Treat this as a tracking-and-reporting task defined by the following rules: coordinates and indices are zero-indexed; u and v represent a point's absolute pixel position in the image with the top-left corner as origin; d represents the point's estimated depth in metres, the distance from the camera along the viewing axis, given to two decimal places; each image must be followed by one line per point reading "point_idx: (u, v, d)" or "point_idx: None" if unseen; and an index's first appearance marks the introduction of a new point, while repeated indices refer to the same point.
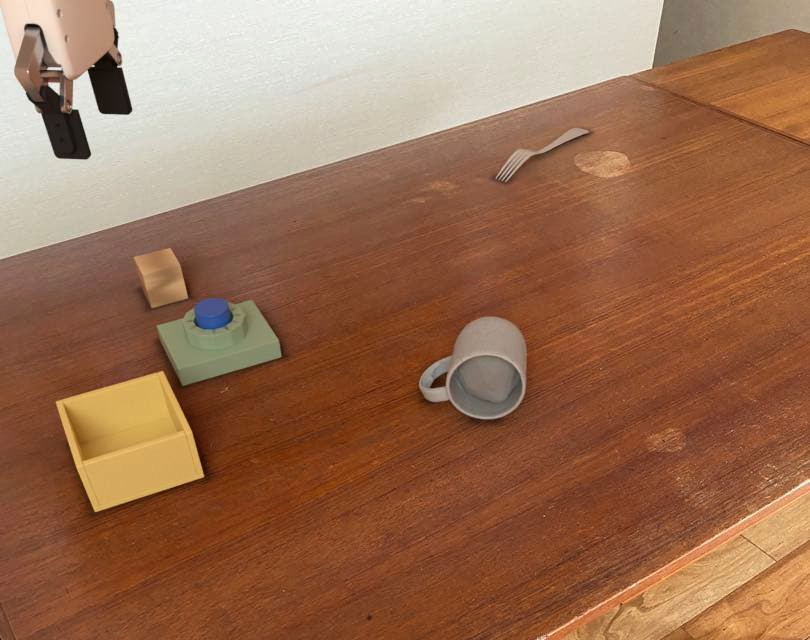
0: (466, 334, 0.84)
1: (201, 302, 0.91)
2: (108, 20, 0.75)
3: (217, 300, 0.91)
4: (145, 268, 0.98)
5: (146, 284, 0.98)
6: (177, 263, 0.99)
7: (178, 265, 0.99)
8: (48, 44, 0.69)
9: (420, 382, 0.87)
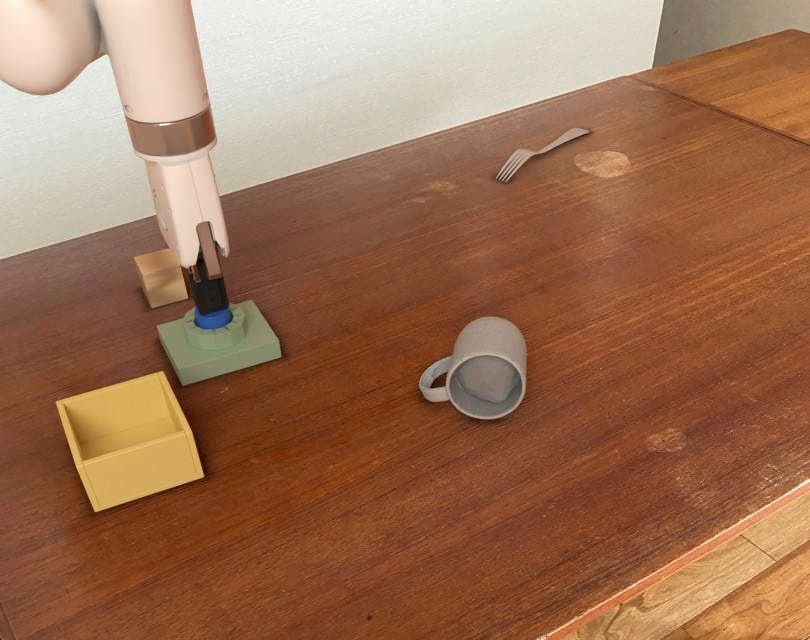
0: (466, 334, 0.84)
1: None
2: None
3: None
4: (145, 268, 0.98)
5: (146, 284, 0.98)
6: (177, 263, 0.99)
7: (178, 265, 0.99)
8: (214, 234, 0.80)
9: (420, 382, 0.87)
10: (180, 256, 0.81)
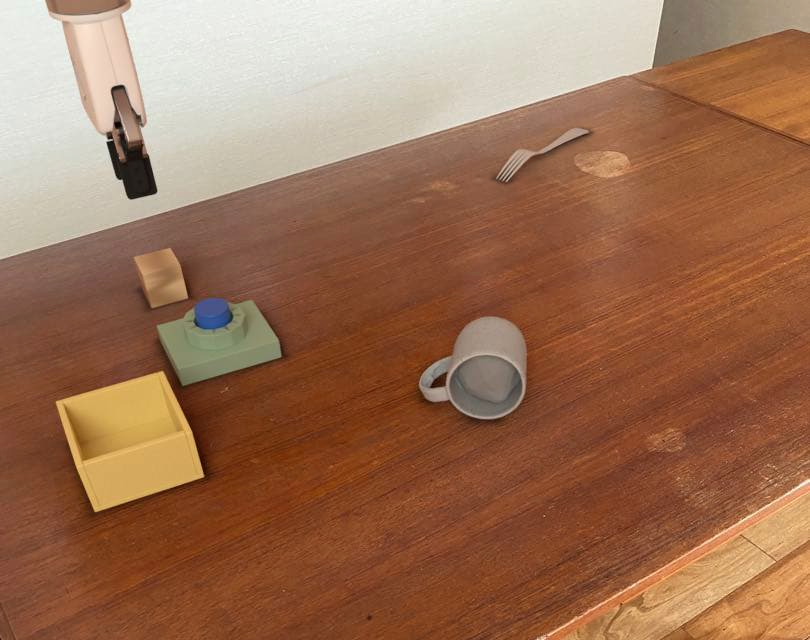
0: (466, 334, 0.84)
1: (201, 302, 0.91)
2: None
3: (217, 300, 0.91)
4: (145, 268, 0.98)
5: (146, 284, 0.98)
6: (177, 263, 0.99)
7: (178, 265, 0.99)
8: (130, 100, 0.83)
9: (420, 382, 0.87)
10: (97, 121, 0.83)
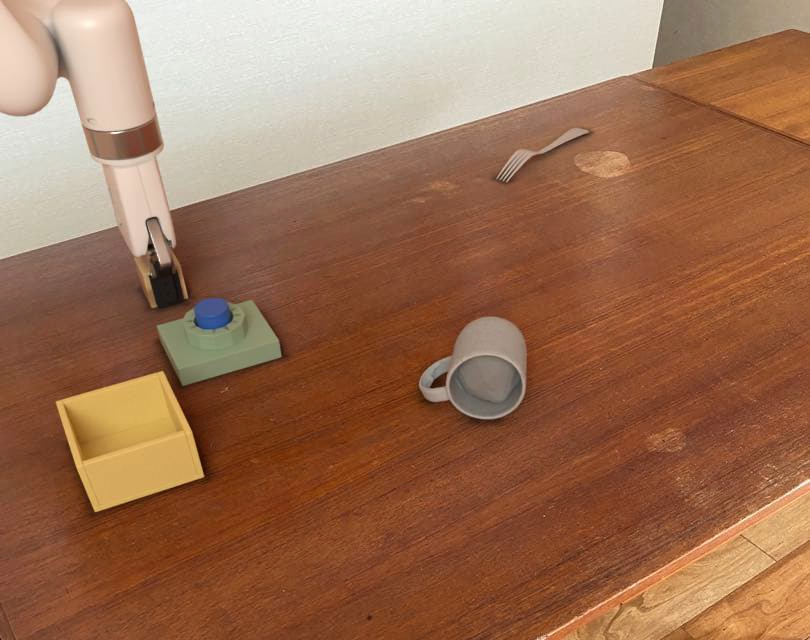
0: (466, 334, 0.84)
1: (201, 302, 0.91)
2: None
3: (217, 300, 0.91)
4: (145, 268, 0.98)
5: (146, 284, 0.98)
6: (177, 263, 0.99)
7: (178, 265, 0.99)
8: (162, 228, 0.92)
9: (420, 382, 0.87)
10: (132, 247, 0.93)
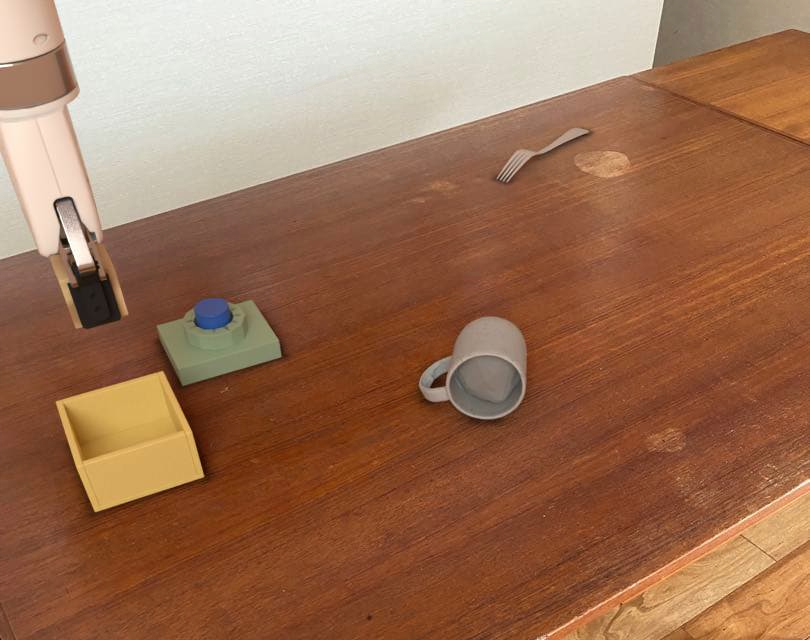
0: (466, 334, 0.84)
1: (201, 302, 0.91)
2: None
3: (217, 300, 0.91)
4: (64, 272, 0.69)
5: (65, 295, 0.69)
6: (110, 265, 0.69)
7: (111, 268, 0.69)
8: (80, 214, 0.63)
9: (420, 382, 0.87)
10: (37, 242, 0.63)
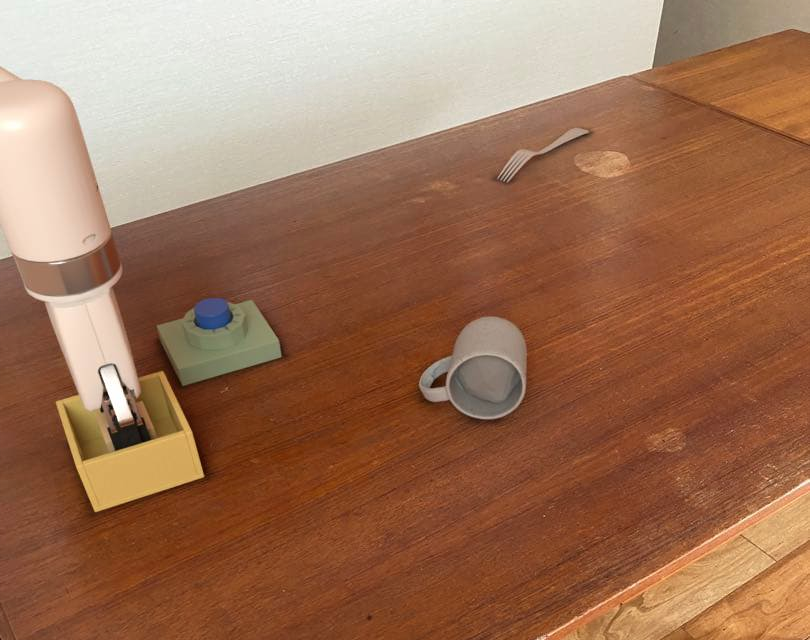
0: (466, 334, 0.84)
1: (201, 302, 0.91)
2: None
3: (217, 300, 0.91)
4: None
5: None
6: (150, 425, 0.78)
7: (151, 428, 0.78)
8: (121, 376, 0.70)
9: (420, 382, 0.87)
10: (82, 400, 0.71)
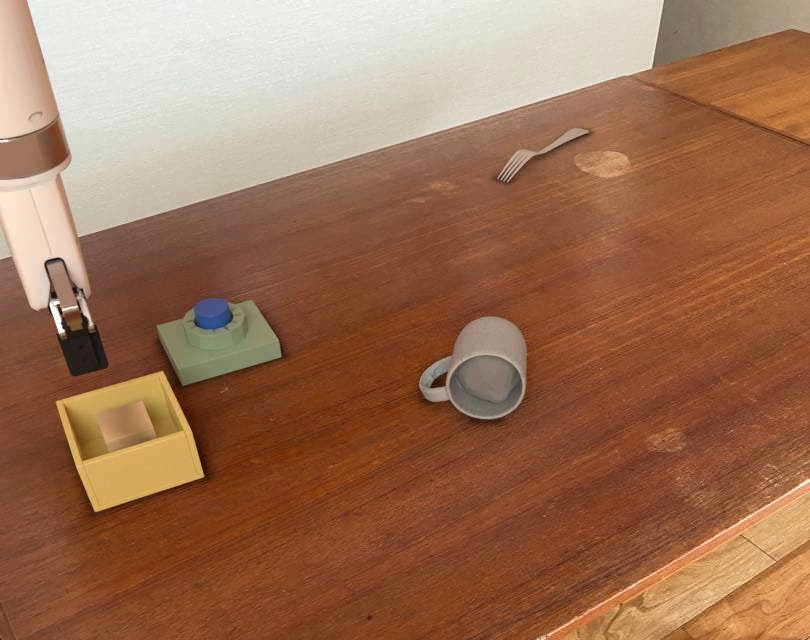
0: (466, 334, 0.84)
1: (201, 302, 0.91)
2: None
3: (217, 300, 0.91)
4: (110, 432, 0.78)
5: None
6: (150, 425, 0.78)
7: (151, 428, 0.78)
8: (69, 272, 0.67)
9: (420, 382, 0.87)
10: (28, 297, 0.67)
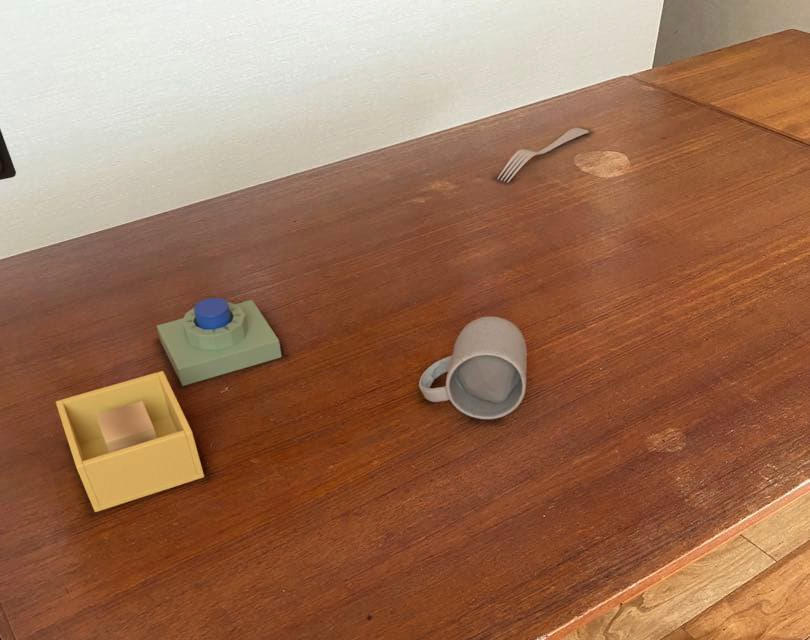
0: (466, 334, 0.84)
1: (201, 302, 0.91)
2: None
3: (217, 300, 0.91)
4: (110, 432, 0.78)
5: None
6: (150, 425, 0.78)
7: (151, 428, 0.78)
8: None
9: (420, 382, 0.87)
10: None
